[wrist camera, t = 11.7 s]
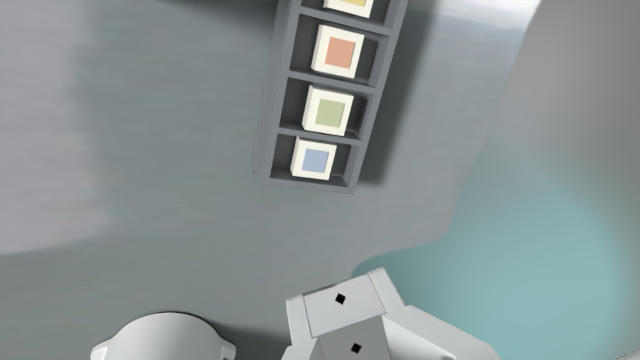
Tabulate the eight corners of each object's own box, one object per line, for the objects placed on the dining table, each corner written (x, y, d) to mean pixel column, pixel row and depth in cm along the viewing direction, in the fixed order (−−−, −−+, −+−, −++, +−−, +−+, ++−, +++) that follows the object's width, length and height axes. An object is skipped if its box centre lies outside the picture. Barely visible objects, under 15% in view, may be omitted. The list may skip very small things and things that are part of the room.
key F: (348, 75, 36) (354, 78, 34) (310, 67, 35) (314, 70, 33) (358, 34, 35) (365, 35, 33) (319, 24, 34) (324, 25, 32)
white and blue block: (324, 172, 40) (328, 180, 39) (290, 168, 39) (292, 176, 37) (332, 139, 39) (337, 146, 37) (297, 134, 38) (300, 140, 36)
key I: (338, 130, 37) (344, 136, 35) (301, 124, 36) (305, 130, 34) (348, 92, 36) (354, 96, 34) (309, 84, 35) (313, 88, 33)
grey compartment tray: (348, 177, 44) (360, 195, 40) (251, 165, 41) (253, 183, 37) (404, -29, 36) (427, -35, 31) (287, -65, 33) (295, -78, 28)
